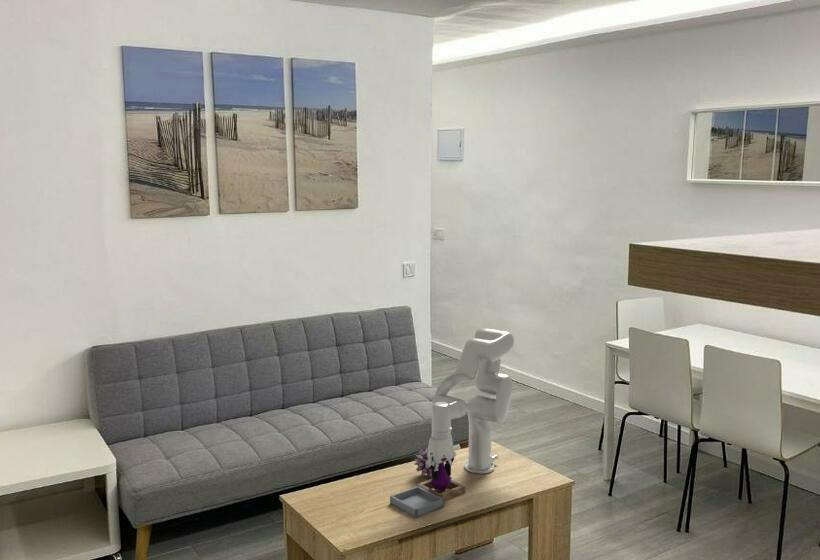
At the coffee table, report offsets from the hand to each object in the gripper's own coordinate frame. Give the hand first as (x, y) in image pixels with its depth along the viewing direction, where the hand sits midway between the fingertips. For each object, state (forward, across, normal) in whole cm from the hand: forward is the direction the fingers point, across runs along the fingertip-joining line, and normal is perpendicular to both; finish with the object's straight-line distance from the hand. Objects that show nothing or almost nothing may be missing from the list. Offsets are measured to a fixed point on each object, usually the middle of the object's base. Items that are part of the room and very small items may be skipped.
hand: (441, 476), depth 292 cm
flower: (+6, -6, -14) cm, 16 cm away
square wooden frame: (+6, 0, 0) cm, 6 cm away
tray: (+6, +15, +3) cm, 17 cm away
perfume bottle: (+5, 0, 0) cm, 5 cm away
